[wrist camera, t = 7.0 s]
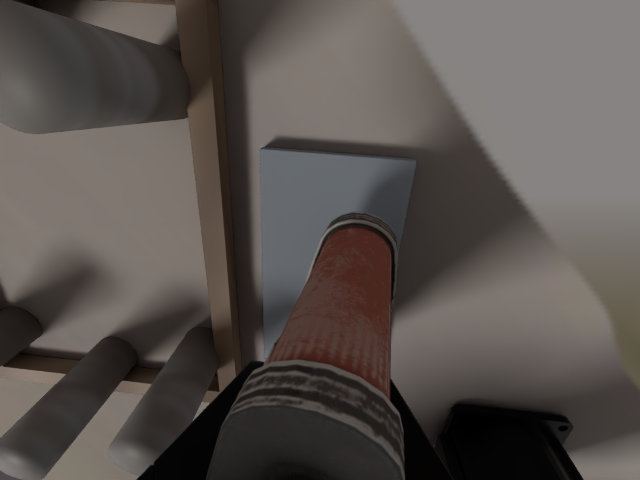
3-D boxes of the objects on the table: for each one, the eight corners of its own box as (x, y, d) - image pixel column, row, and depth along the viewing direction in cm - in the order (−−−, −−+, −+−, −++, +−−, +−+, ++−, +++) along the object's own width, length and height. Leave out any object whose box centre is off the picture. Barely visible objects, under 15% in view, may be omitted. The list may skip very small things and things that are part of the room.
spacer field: (215, -31, 10) (52, -197, 4) (243, 390, 18) (199, 513, 13) (-204, -52, 10) (-797, -219, 5) (10, 363, 19) (-125, 469, 14)
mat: (413, 158, 12) (416, 161, 11) (374, 362, 16) (375, 371, 16) (263, 146, 12) (259, 149, 11) (266, 350, 17) (264, 359, 16)
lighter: (318, 203, 10) (-92, 751, 2) (416, 222, 10) (597, 1151, 1) (296, 364, 14) (130, 816, 5) (367, 384, 14) (320, 920, 5)
